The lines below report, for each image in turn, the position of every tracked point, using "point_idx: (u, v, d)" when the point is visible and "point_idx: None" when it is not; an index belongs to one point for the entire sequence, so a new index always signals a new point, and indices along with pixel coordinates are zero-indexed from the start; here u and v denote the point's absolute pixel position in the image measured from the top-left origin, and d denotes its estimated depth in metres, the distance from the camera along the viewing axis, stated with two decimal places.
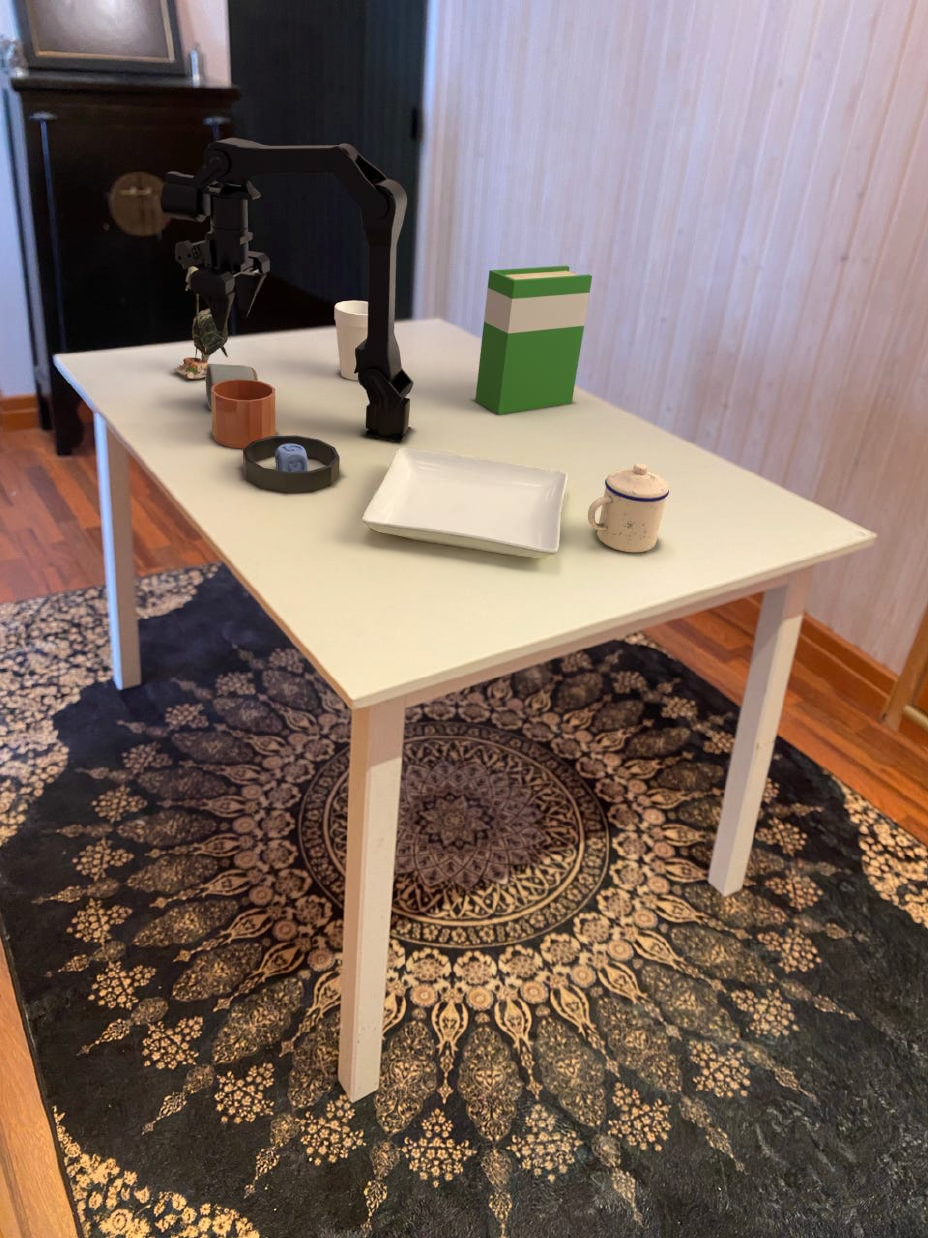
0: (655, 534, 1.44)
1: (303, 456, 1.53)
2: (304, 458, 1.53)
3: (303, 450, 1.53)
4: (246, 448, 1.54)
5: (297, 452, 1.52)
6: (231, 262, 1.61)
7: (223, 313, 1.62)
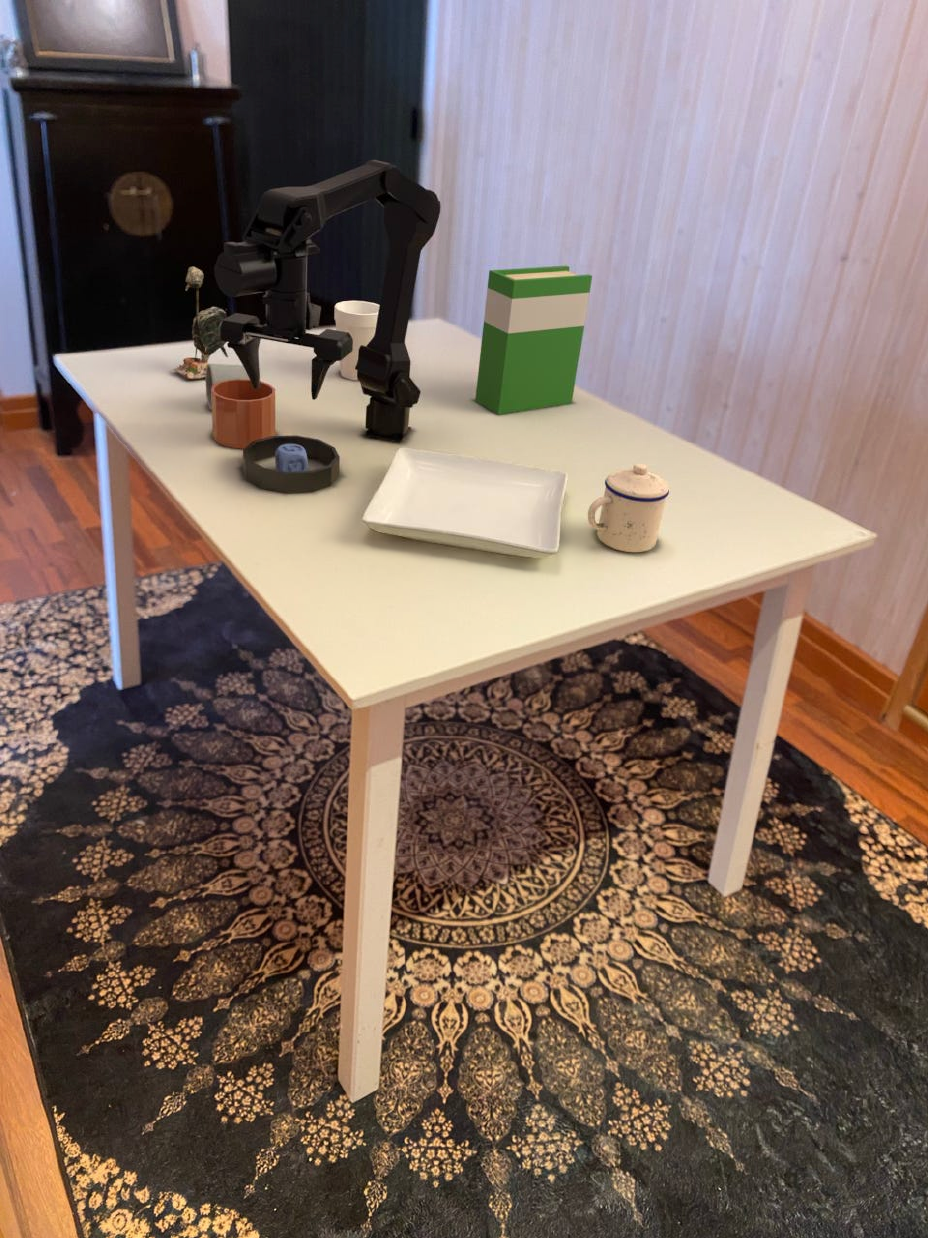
0: (655, 534, 1.44)
1: (303, 456, 1.53)
2: (304, 458, 1.53)
3: (303, 450, 1.53)
4: (246, 448, 1.54)
5: (297, 452, 1.52)
6: None
7: None
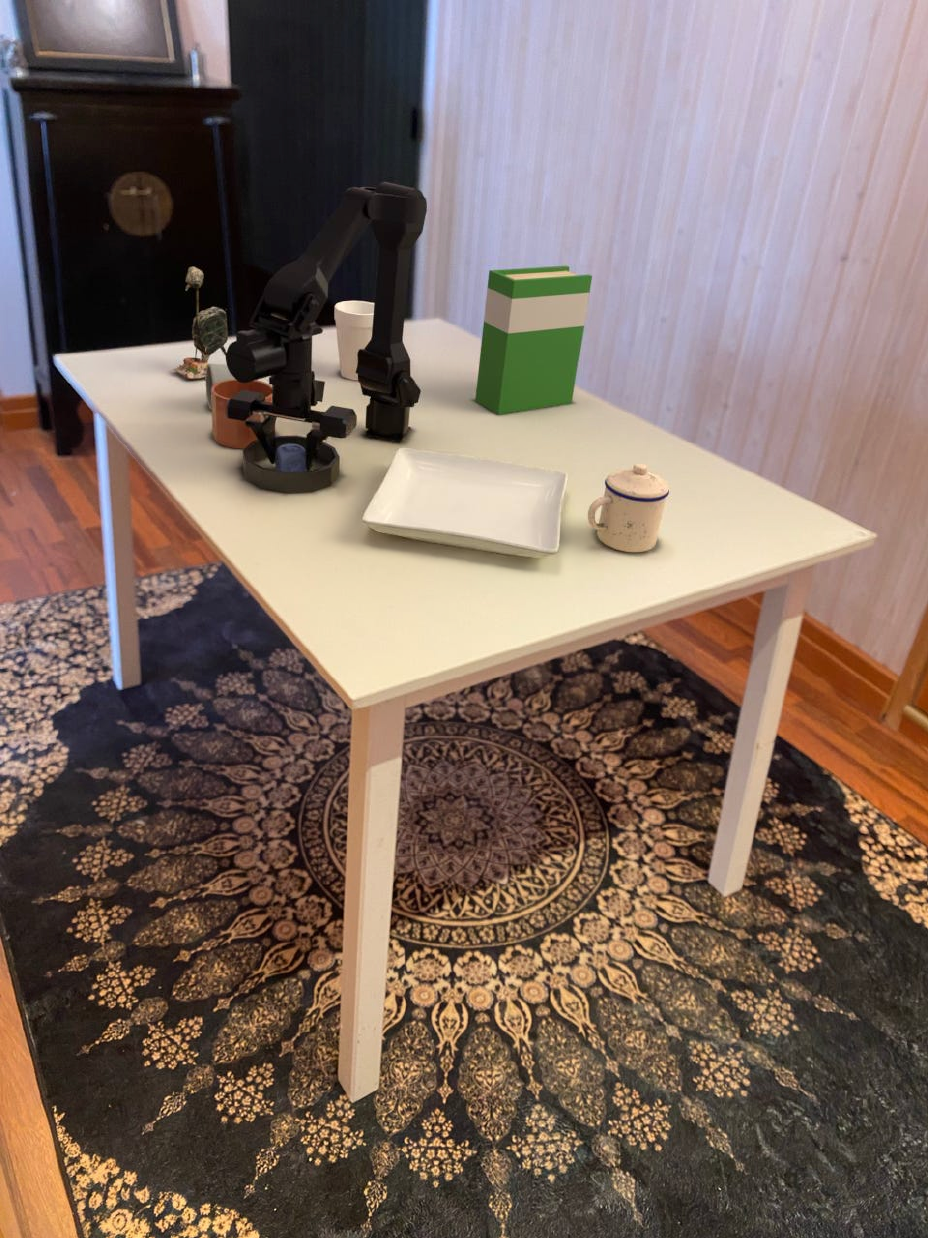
0: (655, 534, 1.44)
1: (303, 456, 1.53)
2: (304, 458, 1.53)
3: (303, 450, 1.53)
4: (246, 448, 1.54)
5: (297, 452, 1.52)
6: (272, 399, 1.49)
7: None
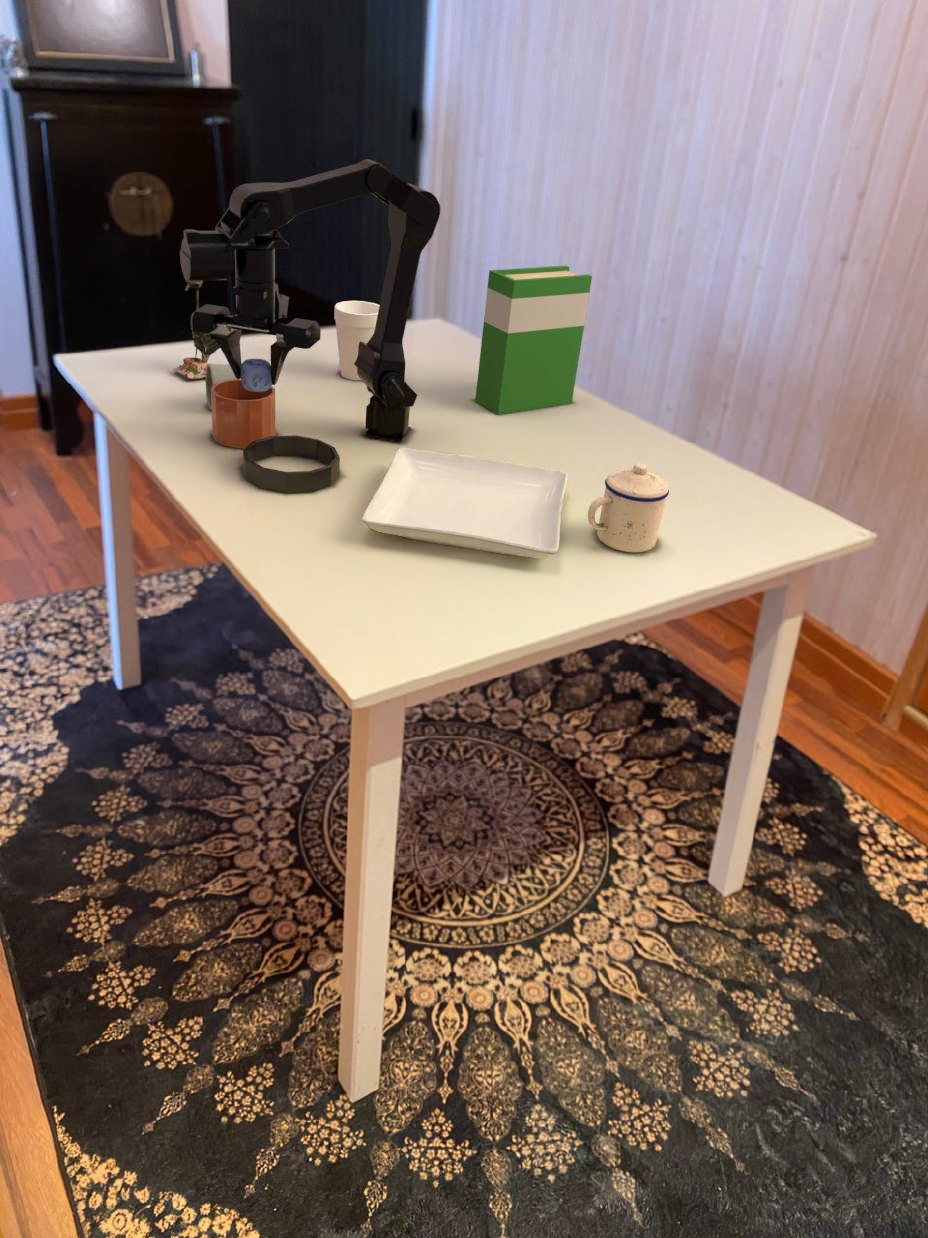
0: (655, 534, 1.44)
1: (268, 369, 1.55)
2: (269, 372, 1.55)
3: (268, 364, 1.55)
4: (246, 448, 1.54)
5: (262, 365, 1.54)
6: (236, 311, 1.50)
7: None
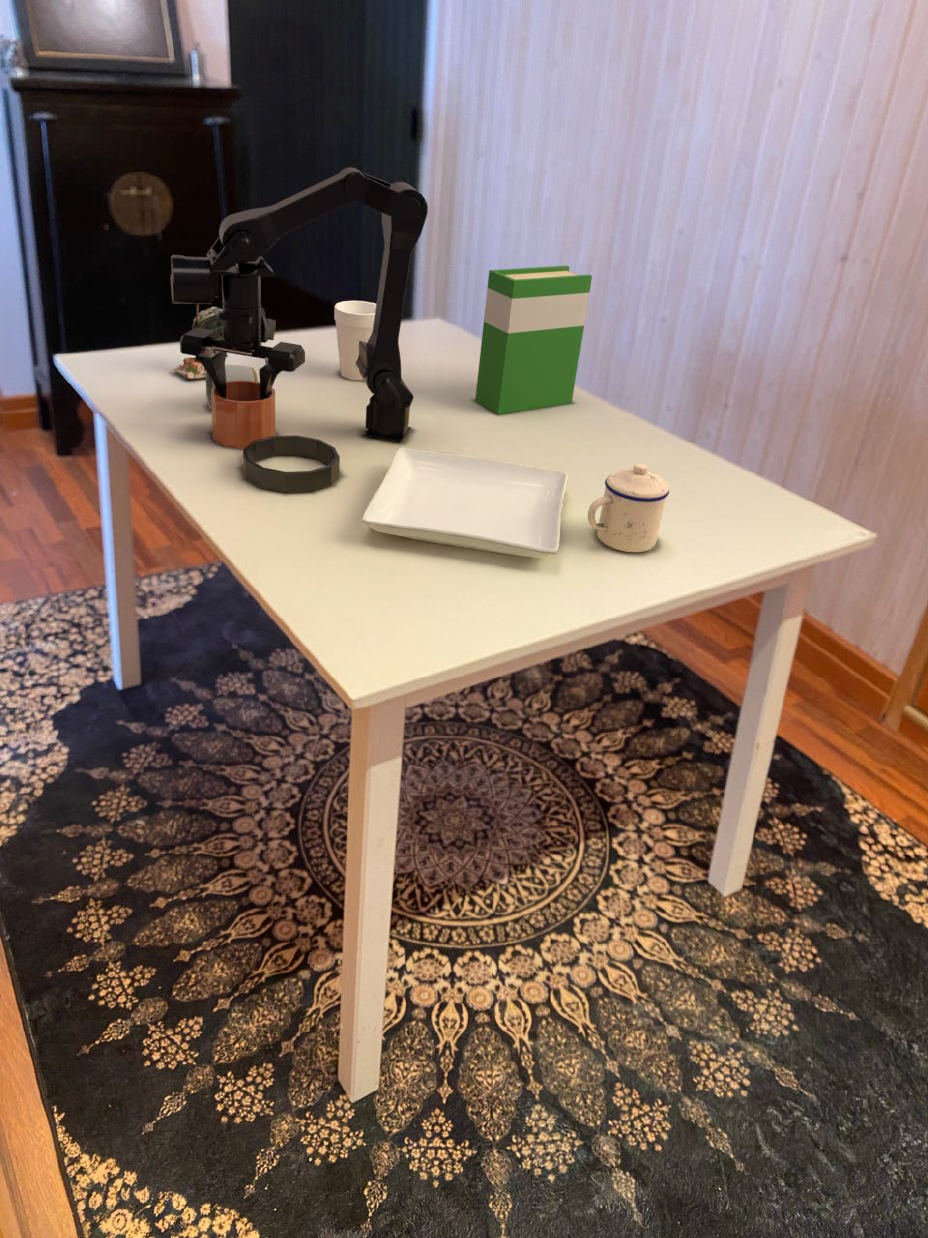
0: (655, 534, 1.44)
1: None
2: None
3: None
4: (246, 448, 1.54)
5: None
6: None
7: None
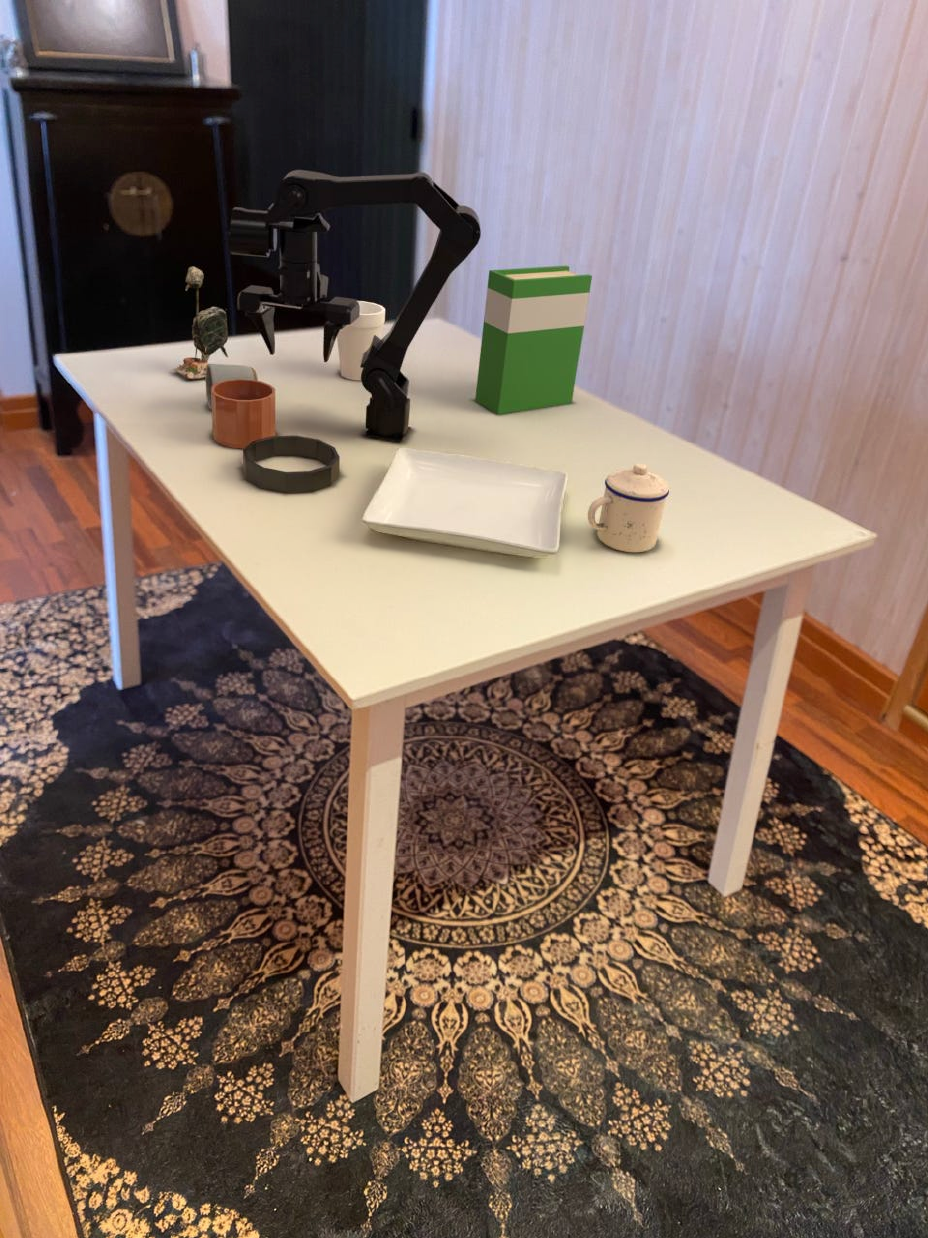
0: (655, 534, 1.44)
1: None
2: None
3: None
4: (246, 448, 1.54)
5: None
6: (280, 290, 1.59)
7: None
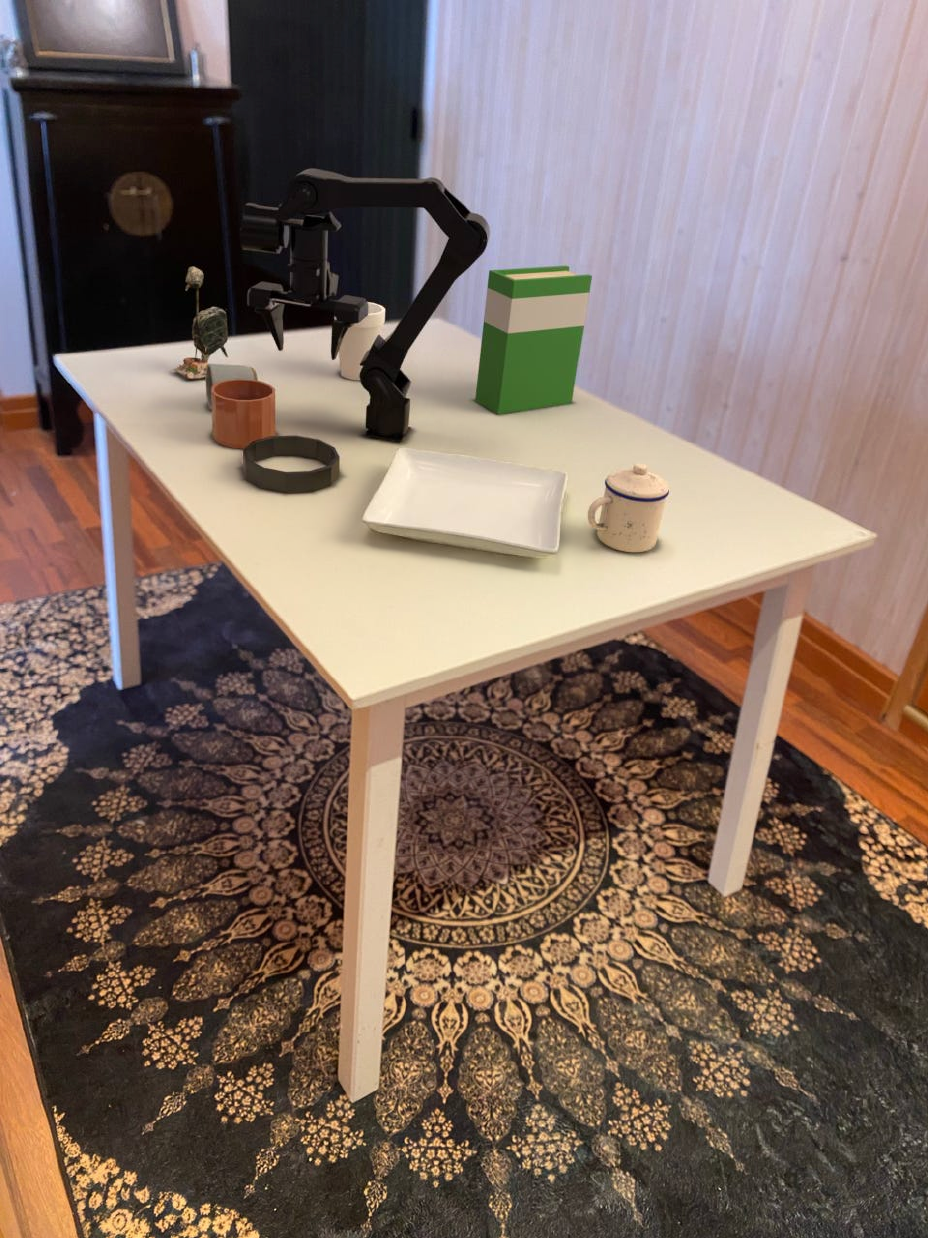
0: (655, 534, 1.44)
1: None
2: None
3: None
4: (246, 448, 1.54)
5: None
6: (290, 287, 1.60)
7: None
